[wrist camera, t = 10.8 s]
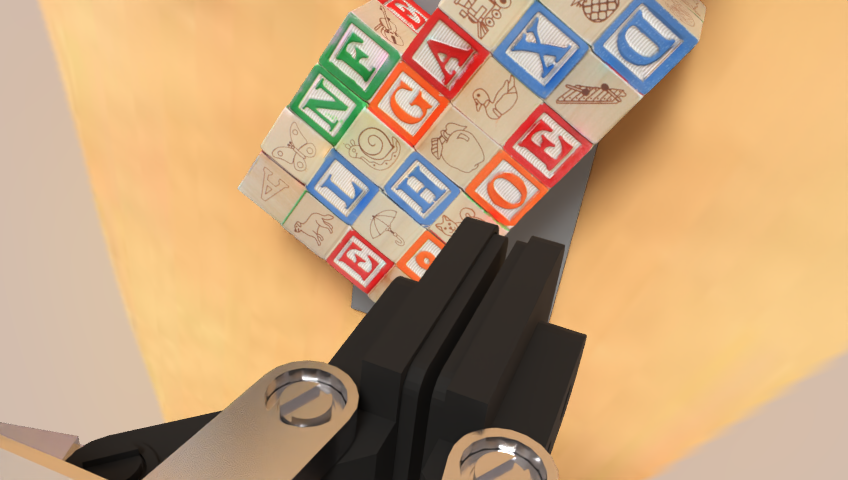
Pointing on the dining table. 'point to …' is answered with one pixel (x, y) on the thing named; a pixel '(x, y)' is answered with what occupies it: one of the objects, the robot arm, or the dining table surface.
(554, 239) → the mat
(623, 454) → the dining table surface
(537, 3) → the stack of blocks
